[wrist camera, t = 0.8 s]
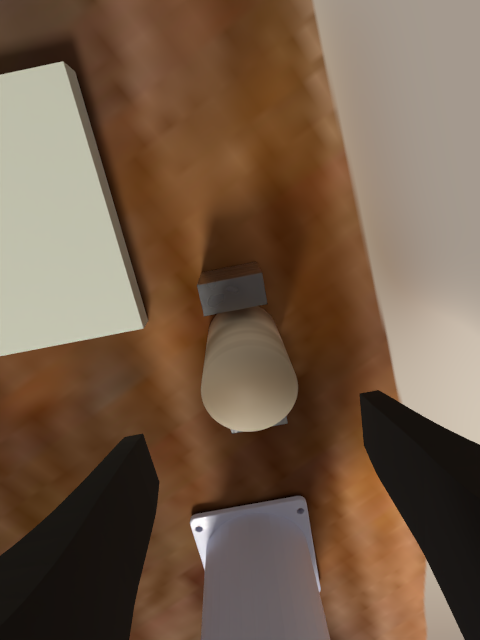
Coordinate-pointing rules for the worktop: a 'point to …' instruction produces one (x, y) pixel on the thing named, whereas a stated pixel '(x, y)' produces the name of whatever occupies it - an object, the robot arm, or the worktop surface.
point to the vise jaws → (232, 292)
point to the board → (57, 220)
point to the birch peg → (247, 371)
